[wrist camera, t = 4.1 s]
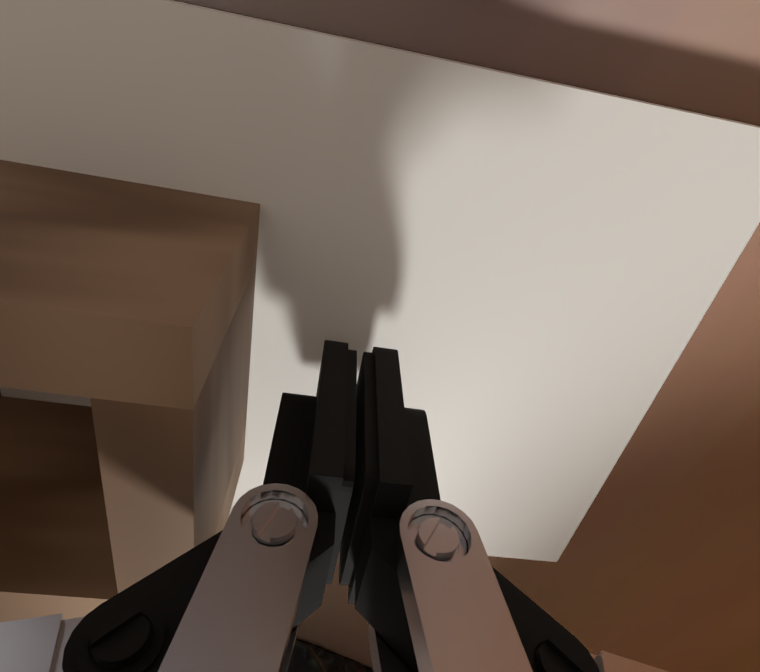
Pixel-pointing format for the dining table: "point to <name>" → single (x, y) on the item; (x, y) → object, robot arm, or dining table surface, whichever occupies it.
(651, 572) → the dining table surface
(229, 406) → the brown square wooden frame
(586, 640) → the dining table surface
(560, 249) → the board
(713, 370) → the dining table surface
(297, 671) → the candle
